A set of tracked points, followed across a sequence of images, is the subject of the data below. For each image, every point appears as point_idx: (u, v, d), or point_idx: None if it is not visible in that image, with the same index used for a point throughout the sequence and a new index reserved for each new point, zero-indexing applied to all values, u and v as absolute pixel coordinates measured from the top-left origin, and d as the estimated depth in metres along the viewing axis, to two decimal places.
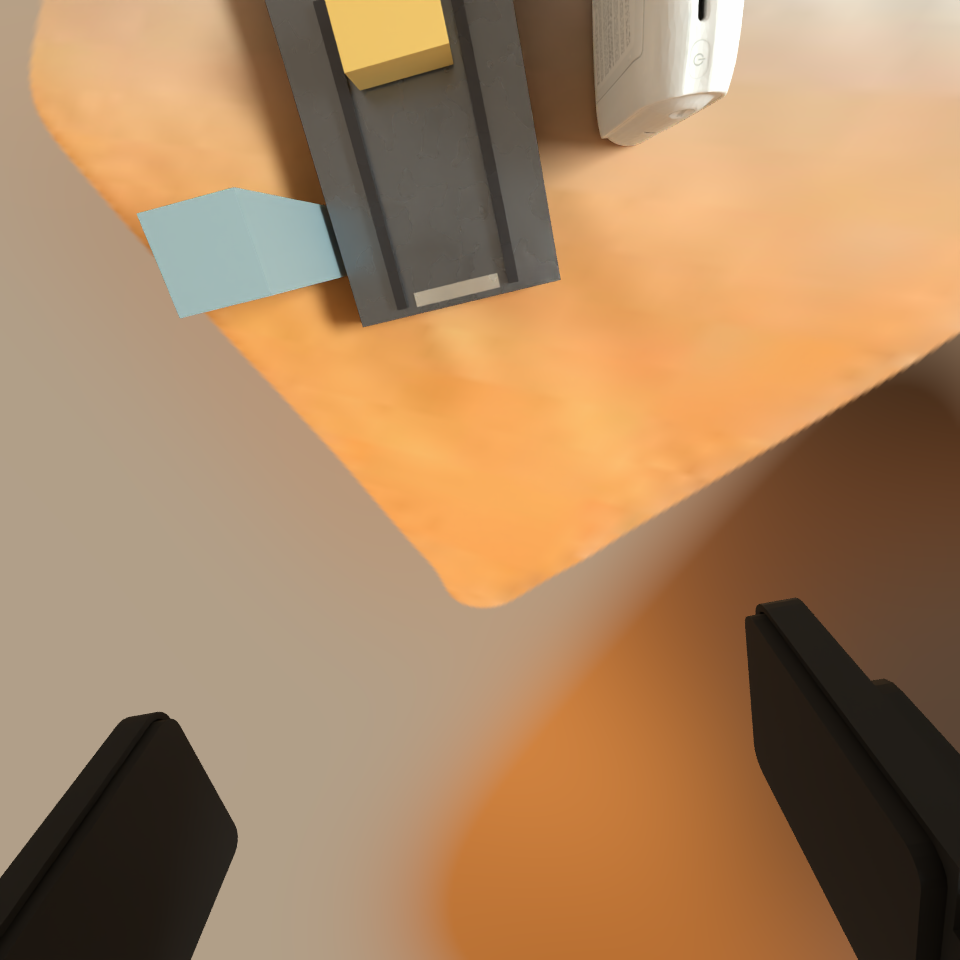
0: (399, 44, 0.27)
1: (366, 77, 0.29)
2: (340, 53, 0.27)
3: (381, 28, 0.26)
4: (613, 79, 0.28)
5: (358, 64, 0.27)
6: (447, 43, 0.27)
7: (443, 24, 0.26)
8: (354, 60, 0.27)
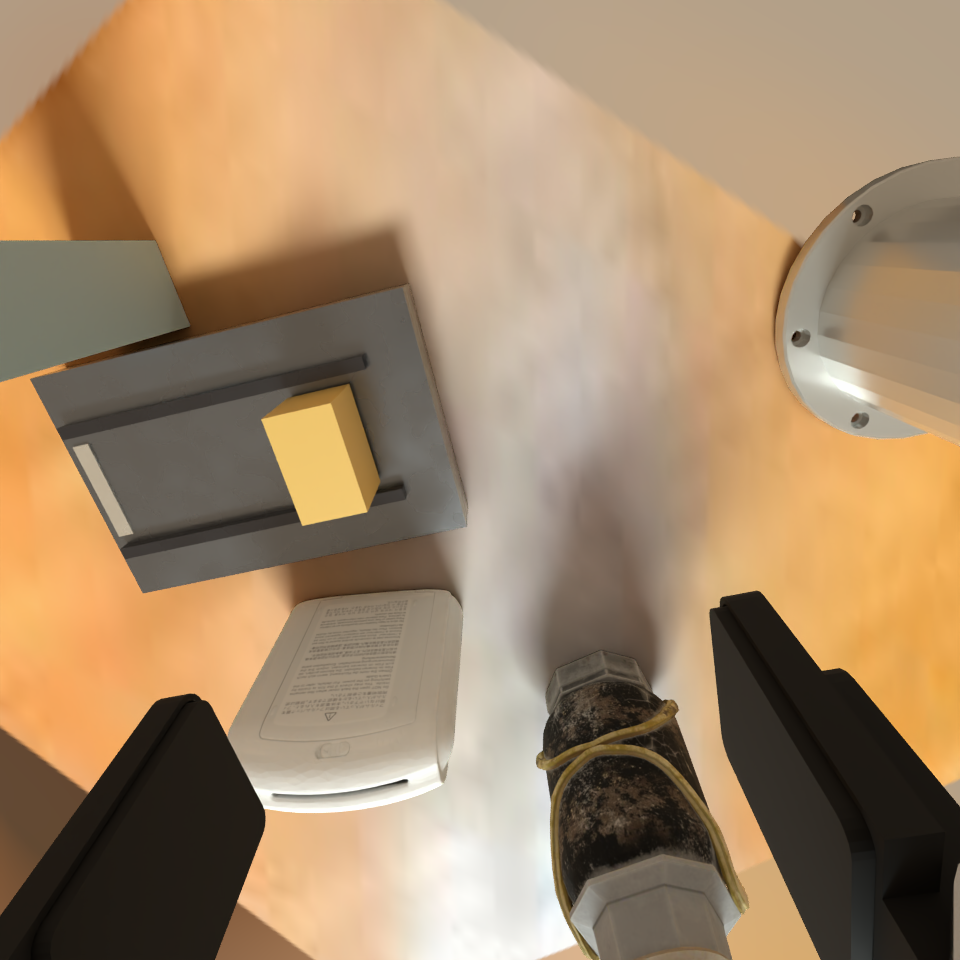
0: (295, 478, 0.25)
1: None
2: (278, 416, 0.24)
3: (307, 461, 0.25)
4: (297, 657, 0.29)
5: (271, 434, 0.24)
6: (302, 523, 0.26)
7: (317, 520, 0.26)
8: (274, 431, 0.24)
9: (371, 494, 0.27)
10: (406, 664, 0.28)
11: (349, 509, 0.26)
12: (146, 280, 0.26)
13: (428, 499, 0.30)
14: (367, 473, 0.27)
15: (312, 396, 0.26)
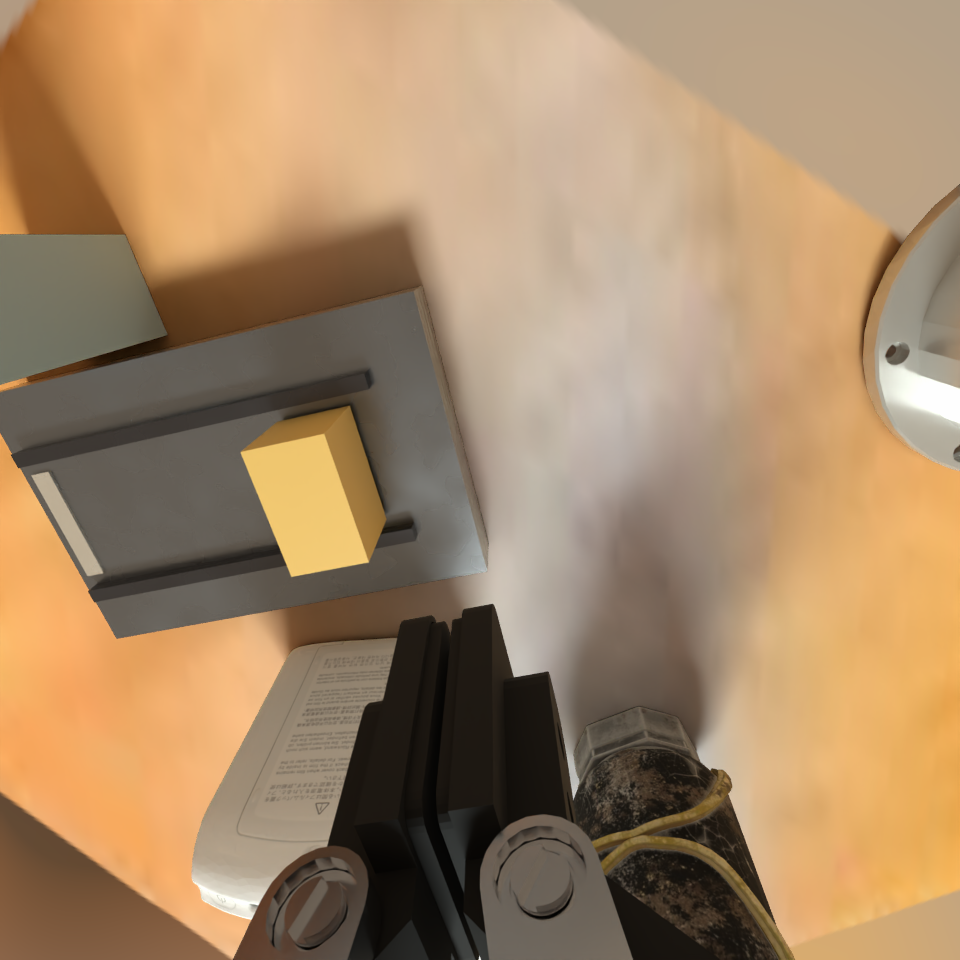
0: (282, 521, 0.21)
1: None
2: (261, 449, 0.20)
3: (296, 502, 0.20)
4: (288, 721, 0.25)
5: (253, 470, 0.20)
6: (291, 574, 0.22)
7: (309, 570, 0.22)
8: (256, 466, 0.20)
9: (374, 539, 0.22)
10: None
11: (347, 559, 0.21)
12: (110, 282, 0.22)
13: (442, 540, 0.25)
14: (369, 512, 0.23)
15: (305, 421, 0.22)
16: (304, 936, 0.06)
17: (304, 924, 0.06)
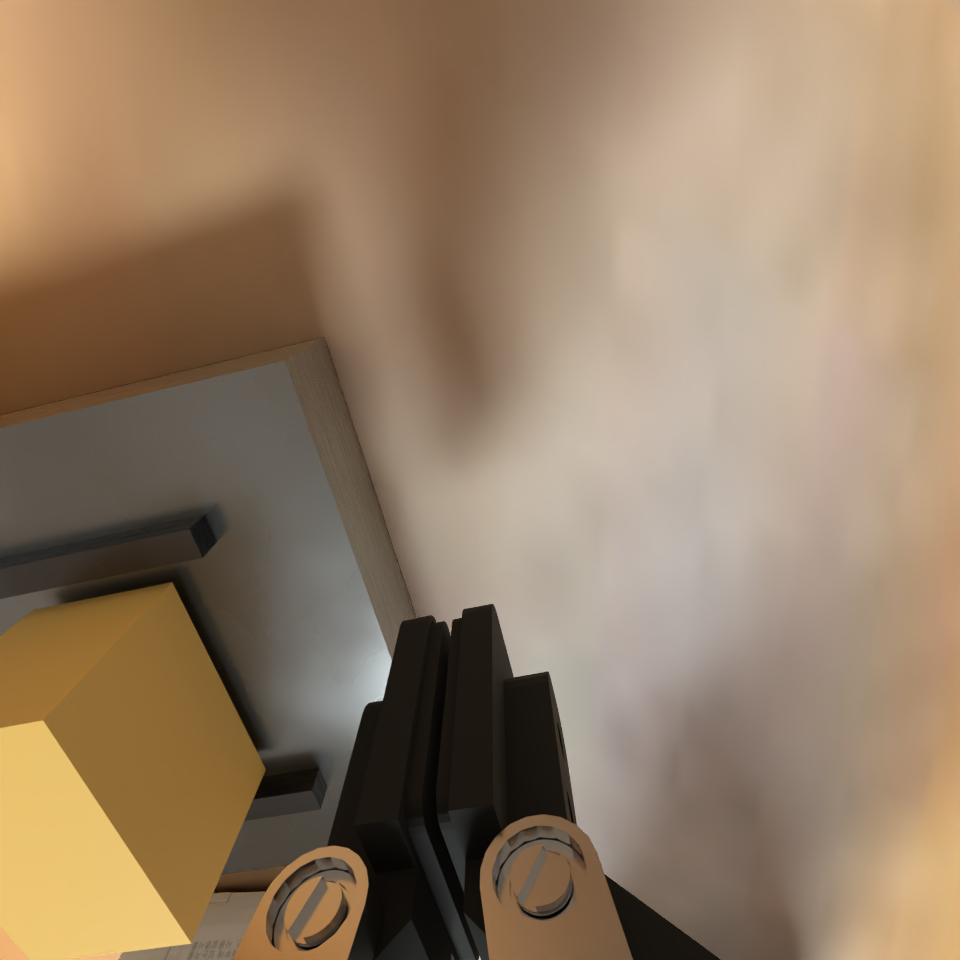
0: None
1: None
2: None
3: (11, 844, 0.09)
4: None
5: None
6: (31, 959, 0.10)
7: (69, 954, 0.10)
8: None
9: (221, 855, 0.11)
10: None
11: (144, 937, 0.10)
12: None
13: None
14: (212, 800, 0.11)
15: (64, 631, 0.10)
16: (304, 936, 0.06)
17: (304, 924, 0.06)
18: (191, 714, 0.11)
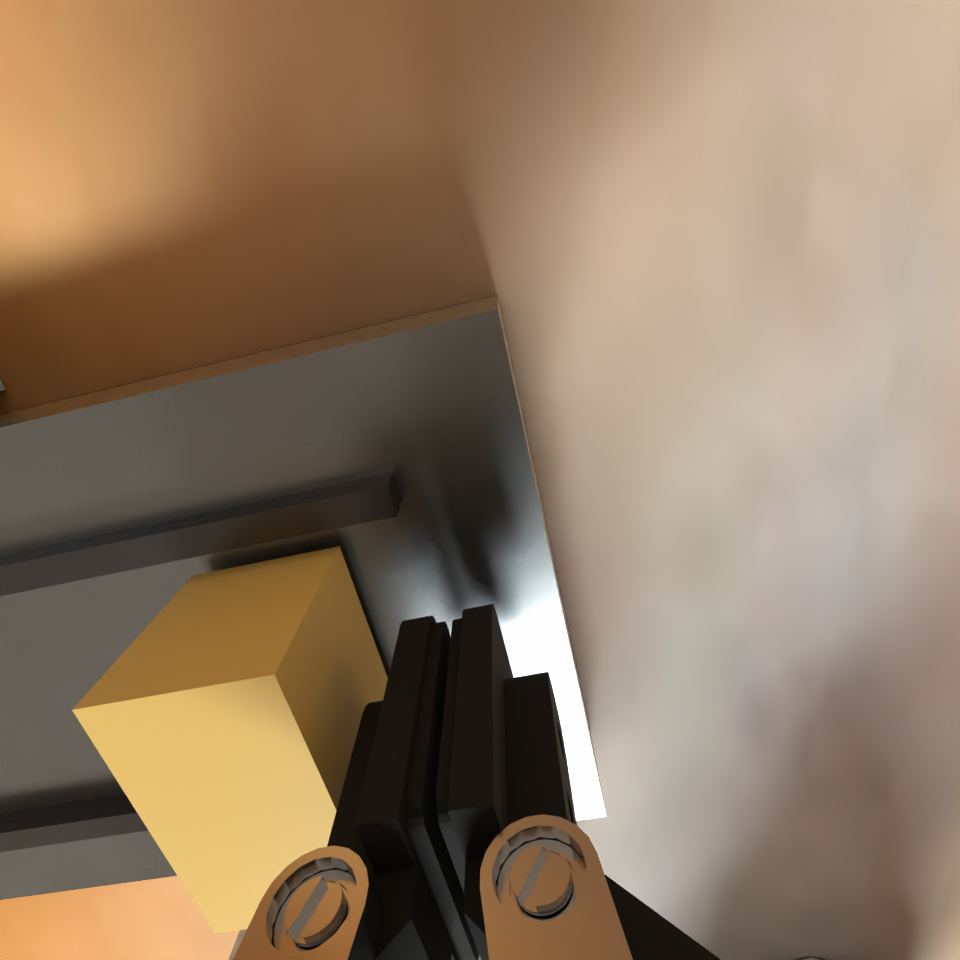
0: (184, 841, 0.09)
1: None
2: (122, 705, 0.08)
3: (216, 805, 0.09)
4: None
5: (106, 745, 0.08)
6: (213, 928, 0.10)
7: None
8: (115, 737, 0.08)
9: None
10: None
11: None
12: None
13: None
14: None
15: (243, 593, 0.10)
16: (304, 936, 0.06)
17: (304, 924, 0.06)
18: (362, 681, 0.11)
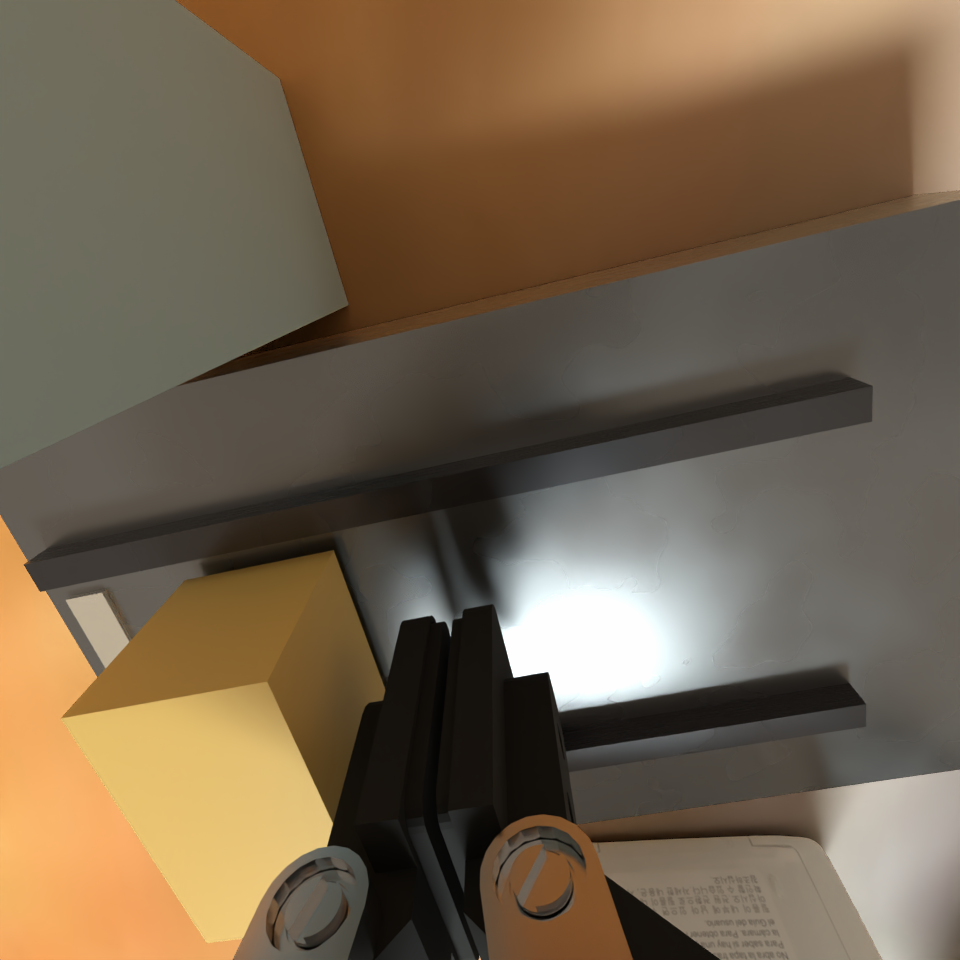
0: (177, 850, 0.09)
1: None
2: (112, 713, 0.08)
3: (208, 814, 0.09)
4: None
5: (97, 754, 0.08)
6: (206, 938, 0.10)
7: None
8: (105, 746, 0.08)
9: None
10: None
11: None
12: (270, 169, 0.09)
13: (896, 715, 0.13)
14: None
15: (236, 598, 0.10)
16: (304, 936, 0.06)
17: (304, 924, 0.06)
18: (357, 686, 0.11)
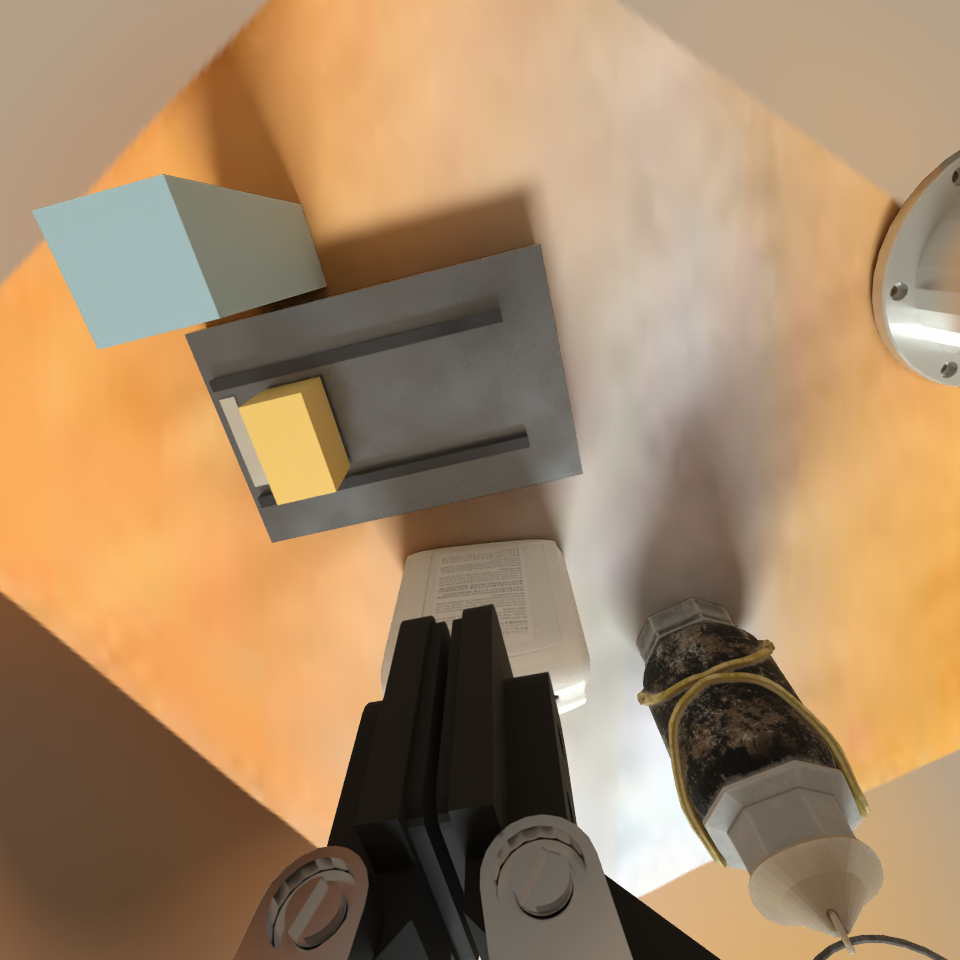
0: (269, 461, 0.28)
1: None
2: (254, 405, 0.27)
3: (280, 445, 0.27)
4: (429, 596, 0.31)
5: (247, 421, 0.27)
6: (277, 503, 0.29)
7: (291, 500, 0.28)
8: (250, 418, 0.27)
9: (340, 477, 0.29)
10: (537, 598, 0.30)
11: (320, 489, 0.28)
12: (300, 239, 0.28)
13: (548, 448, 0.32)
14: (336, 457, 0.30)
15: (285, 387, 0.29)
16: (304, 936, 0.06)
17: (304, 924, 0.06)
18: (329, 424, 0.29)
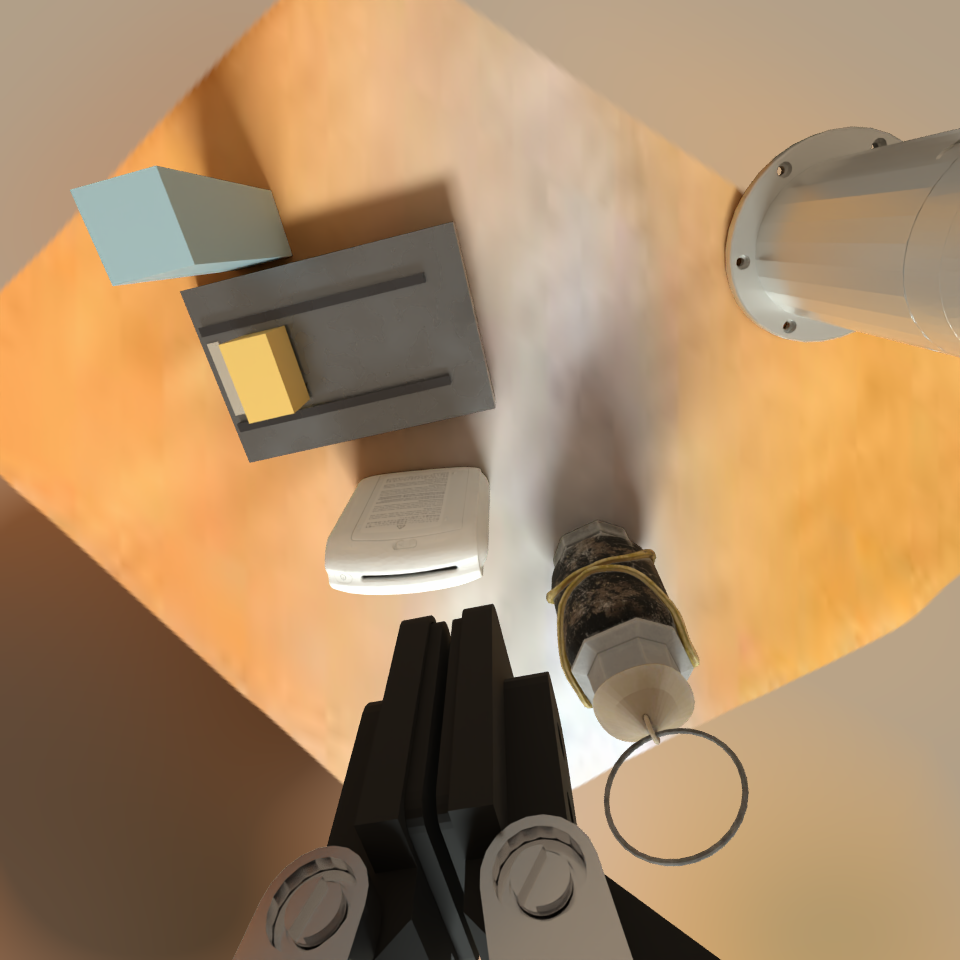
0: (242, 388, 0.36)
1: None
2: (230, 343, 0.35)
3: (251, 375, 0.36)
4: (370, 502, 0.40)
5: (225, 356, 0.35)
6: (249, 422, 0.37)
7: (260, 419, 0.37)
8: (227, 353, 0.35)
9: (299, 404, 0.38)
10: (452, 502, 0.38)
11: (281, 411, 0.37)
12: (268, 217, 0.36)
13: (467, 386, 0.40)
14: (296, 388, 0.38)
15: (257, 333, 0.37)
16: (304, 936, 0.06)
17: (304, 924, 0.06)
18: (290, 362, 0.38)
